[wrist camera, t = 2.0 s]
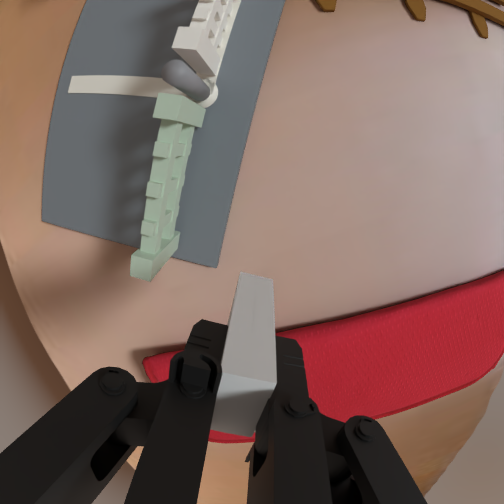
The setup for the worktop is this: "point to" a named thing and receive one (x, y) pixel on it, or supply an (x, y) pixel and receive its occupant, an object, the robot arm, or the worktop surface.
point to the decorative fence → (471, 3)
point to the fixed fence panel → (203, 36)
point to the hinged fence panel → (168, 168)
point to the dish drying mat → (393, 353)
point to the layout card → (150, 121)
